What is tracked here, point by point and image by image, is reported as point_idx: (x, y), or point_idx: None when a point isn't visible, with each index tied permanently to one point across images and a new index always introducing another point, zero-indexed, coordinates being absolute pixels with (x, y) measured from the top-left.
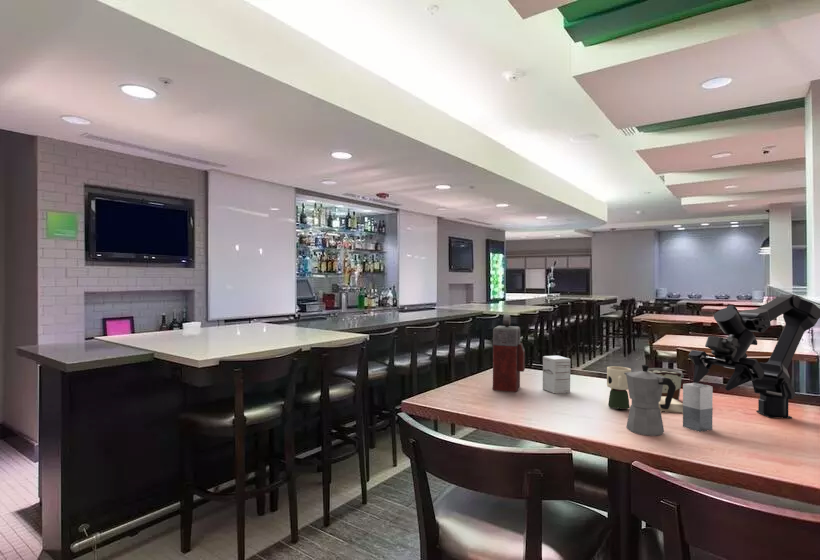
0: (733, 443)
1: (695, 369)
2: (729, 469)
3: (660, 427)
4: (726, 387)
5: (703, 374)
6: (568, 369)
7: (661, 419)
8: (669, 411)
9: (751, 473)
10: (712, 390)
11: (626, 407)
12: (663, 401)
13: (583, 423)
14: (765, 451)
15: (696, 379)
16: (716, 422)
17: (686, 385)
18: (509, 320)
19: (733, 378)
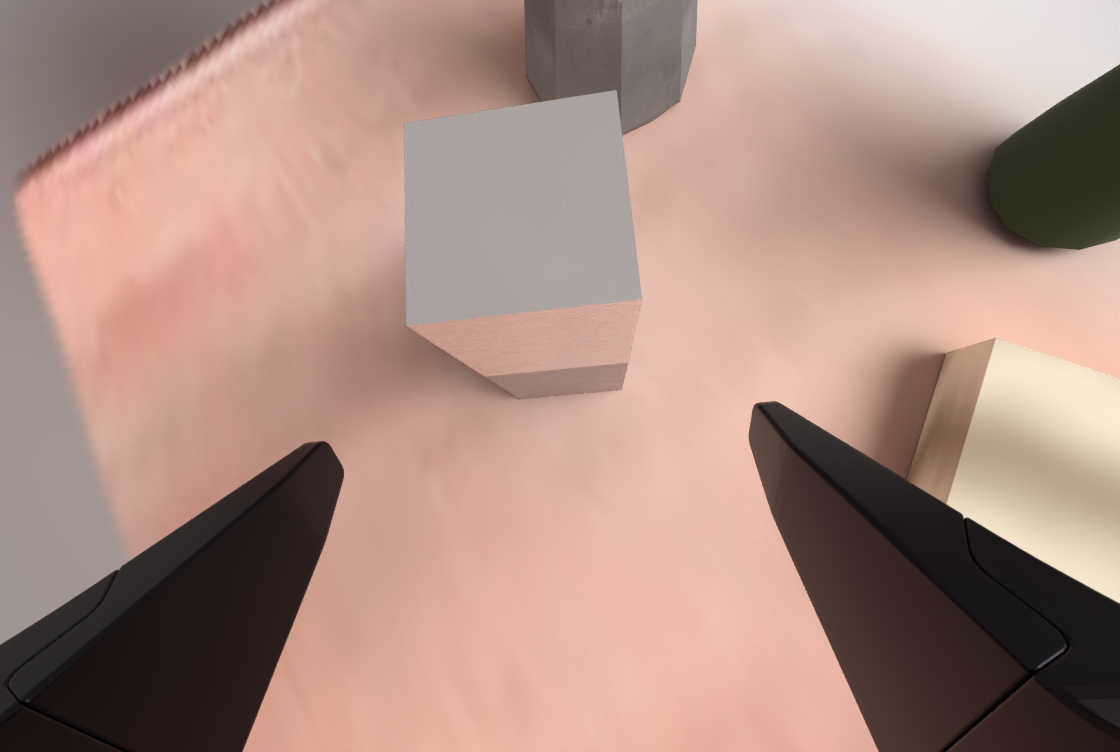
0: (342, 312)
1: (995, 545)
2: (192, 66)
3: (534, 62)
4: (303, 444)
5: (879, 707)
6: None
7: (551, 54)
8: (912, 470)
9: (144, 104)
10: (427, 338)
11: (997, 188)
12: (1047, 491)
13: None
14: (229, 353)
15: (771, 447)
16: (623, 567)
17: (570, 104)
18: None
19: (133, 565)
